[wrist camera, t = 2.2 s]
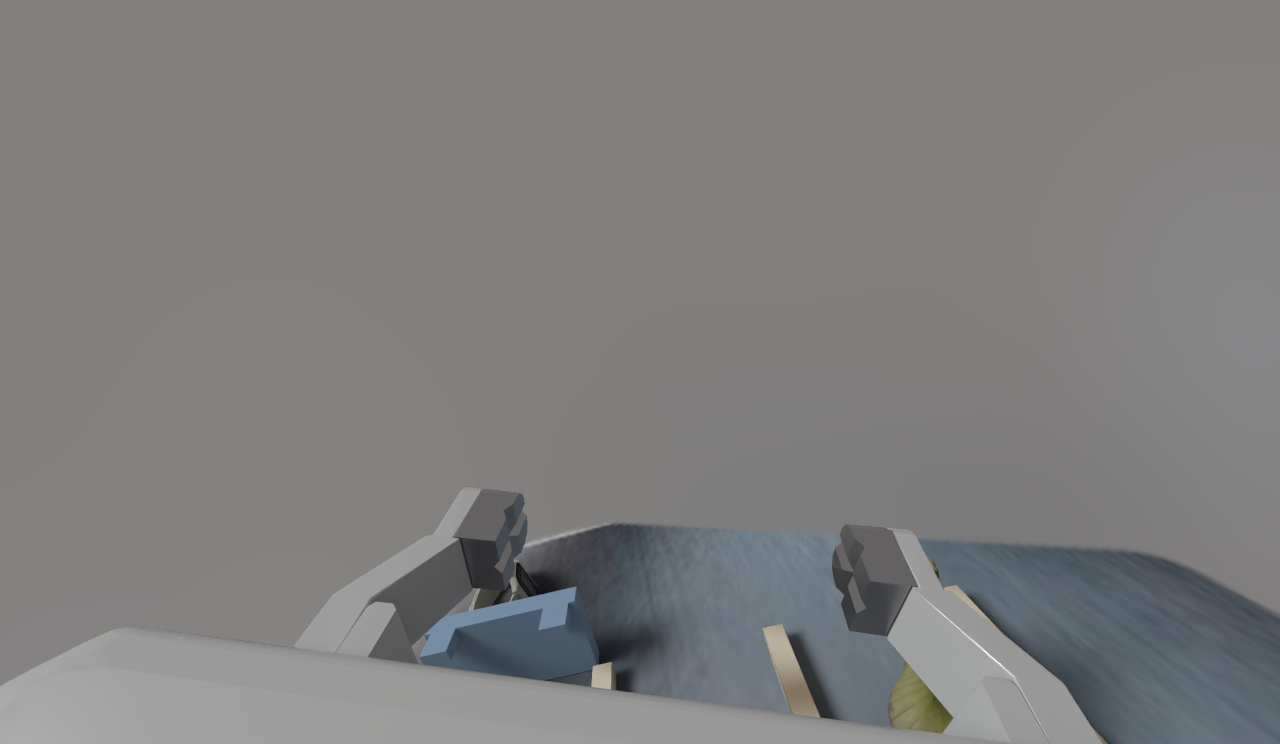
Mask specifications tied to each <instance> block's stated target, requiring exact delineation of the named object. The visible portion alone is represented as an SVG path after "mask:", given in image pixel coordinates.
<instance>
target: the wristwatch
mask: <svg viewBox="0 0 1280 744" xmlns="http://www.w3.org/2000/svg"><path fill="white" fill-rule="evenodd" d="M514 564H515V569H514V571H513V574H512V576H511V579H510V581H509V584H508V585H510V584H511V587H512V593H513V595H512V597H511V600H510V601H509V602H511V601H516V600H520V599H524V598H529V597H533V596H537V595H538V590H537V588H536V585H535V583H534V582H533V580H532V579H531V577H530V576H529V575H528V573H527V572H526V571H525V569H524V568H523V567H522V565H521V564H520V562H519V561H518V560H517V561H516V560H515V559H514ZM501 591H502V590H490V589H479V588H478V590H477V592H476V593H475V596H474V598H473V601H472V604H471V605H470V608H469V611H472V610H476V609H481V608H485V607H489V606H492V605H493V603H494V601H495V600H496V598H497V597H498V596H499V594H500V592H501Z"/></svg>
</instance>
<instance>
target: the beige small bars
mask: <svg viewBox="0 0 1280 744" xmlns="http://www.w3.org/2000/svg"><path fill="white" fill-rule="evenodd" d="M943 589H944V590H946V591H951V592H953V593H954V594H955V595H956V596H958V597H959V598H960V599H961V600H962V601H964V602H965V603H966V604H967V605H968V606H970V607H971V608H972V609H973V610H975V611H976V612H977V613H978V614H979V615H981V616H982V617H983V618H984V619H986V620H987V621H988V622H989V623H990V624H992V625H993V626H994V627H995V628H996V629H998V628H997V627H996V626H995V625H994V624H993V623H992V622H991V621H990V620H989V619H988V618H987V616H986V615H985V614H984V613H983V612H982V611H981V610H980V609H979V608H978V607H977V606H976V605H975V604H974V603H973V602H972V601H971V600H970V599H969V598H968V597H967V595H966V594H965V593H964V592H963V591H962V590H961V589H960V588H959V587H958V586H957V585H954V586H950V587H945V588H943ZM998 630H999V629H998ZM999 631H1000V630H999ZM763 632H764V637H765V642H766V645H767V648H768V651H769V653H770V656H771V659H772V662H773V665H774V668H775V670H776V673H777V676H778V679H779V682H780V685H781V687H782V690H783V693H784V696H785V699H786V702H787V704H788V707H789V710H790V713H791V714H797V715H804V716H812V717H819V718H820V715H819V713H818V710H817V708H816V706H815V703H814V701H813V698H812V696H811V693H810V691H809V689H808V686H807V684H806V681H805V679H804V676H803V674H802V672H801V669H800V667H799V664H798V662H797V659H796V657H795V655H794V652H793V650H792V647H791V645H790V642H789V640H788V638H787V635H786V633H785V630H784V628H783V625H782V624H779V625H775V626H770V627H766V628H763ZM1000 632H1001V631H1000ZM1001 633H1002V632H1001ZM592 687H595V688H602V689H610V690H616V673H615V671H614V668H613V665H612V662H609V663H605V664H600V665H596V666H593V672H592ZM1093 730H1094V729H1093ZM1094 732H1095V733H1096V735H1097V736H1098V738H1099V739H1100V741H1101V742H1102V744H1108V743H1107V742H1106V741H1105V740H1104V739H1103V738H1102V737H1101V736H1100V735H1099V734H1098V733H1097V732H1096V731H1095V730H1094Z"/></svg>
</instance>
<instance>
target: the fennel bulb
mask: <svg viewBox="0 0 1280 744" xmlns="http://www.w3.org/2000/svg"><path fill="white" fill-rule="evenodd" d="M928 560H929V559H928ZM929 562H930V564H931V566H932V568H933V570H934V572H935V574H936V576H937V577H938V579H939V574H938V569H937V568H936V566H935V563H934V562H932V561H930V560H929ZM888 712H889V718H890V722H891V725H892V727H895V728H902V729H910V730H917V731H925V732H932V733H940V734H942V733H943V732H944V730H945V729H946V727H947V726H948V725H949V723H950V722H951V721H952V719H953V717H952V715H951V714H950V713H949V712H948V711H947V709H946V708H945V707H944V706H943V705H942V703H941V702H940V701H939V700H938V699H937V697H936V696H935V695H934V694H933V693H932V692H931V690H930V689H929V688H928V687H927V686H926V684H925V683H924V682H923V681H922V680H921V678H920V677H919V676H918V675H917V674H916V672H915V671H914V670H913V669H912V668H911V666H910V665H909V664H908V663H907V662H906V661H905V664H904V668H903V670H902V673H901V675H900V677H899V678H898V680H897V681H896V683H895V685H894V686H893V689H892V691H891V694H890V700H889V707H888Z"/></svg>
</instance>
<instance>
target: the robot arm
mask: <svg viewBox="0 0 1280 744" xmlns="http://www.w3.org/2000/svg"><path fill="white" fill-rule="evenodd" d="M524 504H525V502H524V497H523V494H521V493H514V492H506V491H497V490H490V489H479V488H471V487H466V488H464V489H463V490H462V491H461V492H460V493H459V495H458V497H457V498H456V500H455V501H454V503H453V504H452V506H451V507H450V509H449V511H448V512H447V514H446V516H445V517H444V519H443V520H442V522H441V523H440V525H439V527H438V528H437V530H436V531H435V533H434V534H433V536H432V535H427V536H425V537H423V538H422V539H420V540H419V541H417V542H415V543H414V544H412V545H411V546H409V547H408V548H406V549H404V550H403V551H401V552H400V553H398V554H396V555H395V556H393V557H392V558H390V559H388V560H387V561H385V562H384V563H382V564H381V565H379V566H377V567H376V568H374V569H373V570H371V571H369V572H368V573H367V574H365V575H363V576H361V577H360V578H358V579H357V580H355V581H353V582H352V583H350V584H349V585H347V586H345V587H344V588H343V589H341V590H339V591H338V592H336V593H334V594H333V595H332V596H331V598H330V599H329V600H328V602H327V603H326V604H325V606H324V607H323V608H322V609H321V611H320V612H319V613H318V615H317V616H316V617H315V619H314V620H313V621H312V623H311V624H310V625H309V627H308V628H307V629H306V630H305V632H304V633H303V634H302V636H301V637H300V638H299V640H298V641H297V642H296V643H295V645H294V646H293V647H287V646H280V645H272V644H265V643H257V642H250V641H242V640H234V639H227V638H220V637H212V636H205V635H197V634H189V633H182V632H175V631H167V630H160V629H152V628H144V627H125V628H118V629H115V630H111V631H110V632H107V633H105V634H102V635H100V636H98V637H96V638H94V639H91V640H89V641H86V642H84V643H83V644H81V645H78V646H77V647H74V648H72V649H70V650H69V651H66V652H64V653H63V654H61V655H59V656H56V657H55V658H53V659H51V660H48V661H47V662H45V663H43V664H41V665H39V666H37V667H35V668H33V669H31V670H29V671H27V672H25V673H23V674H21V675H19V676H18V677H16V678H14V679H12V680H10V681H8V682H6V683H5V684H3V685H1V686H0V744H1102V742H1101V741H1100V739H1099V738H1098V736H1097V735H1096V733H1095V732H1094V730H1093V728H1092V727H1091V725H1090V724H1089V722H1088V721H1087V719H1086V718H1085V716H1084V714H1083V713H1082V711H1081V710H1080V708H1079V707H1078V705H1077V703H1076V702H1075V700H1074V699H1073V697H1072V696H1071V694H1070V693H1069V691H1068V689H1067V688H1066V686H1065V685H1064V684H1063V683H1062V682H1061V681H1060V680H1059V679H1057V678H1056V677H1055V676H1054V675H1053V674H1051V673H1050V672H1049V671H1048V670H1046V669H1045V668H1044V667H1043V666H1042V665H1040V664H1039V663H1038V662H1037V661H1035V660H1034V659H1033V658H1032V657H1031V656H1029V655H1028V654H1027V653H1026V652H1025V651H1023V650H1022V649H1021V648H1020V647H1018V646H1017V645H1016V644H1015V643H1014V642H1012V641H1011V640H1010V639H1009V638H1007V637H1006V636H1005V635H1004V634H1003V633H1001V632H1000V631H999V630H998V629H996V628H995V627H994V626H993V625H992V624H990V623H989V622H988V621H987V620H986V619H984V618H983V617H982V616H981V615H979V614H978V613H977V612H976V611H975V610H973V609H972V608H971V607H970V606H968V605H967V604H966V603H965V602H964V601H962V600H961V599H960V598H959V597H958V596H956V595H955V594H954V593H953V592H951V591H946V590H944V589H943V587H942V585H941V583H940V581H939V579H938V577H937V576H936V574H935V572H934V570H933V568H932V566H931V564H930V562H929V560H928V558H927V557H926V555H925V553H924V551H923V549H922V547H921V545H920V543H919V541H918V539H917V538H916V536H915V534H914V533H913V532H912V531H911V530H904V529H892V528H888V529H887V528H882V527H871V526H858V525H846V524H845V526H844V527H843V528H842V530H841V533H840V537H841V540H842V543H841V544H840V545H838V546H837V547H835V550H834V554H833V559H832V570H833V577H834V581H835V584H836V587H837V588H838V589H839V590H840V591H841V592H842V593H843V594H844V598H843V601H842V603H841V605H842V608H843V612H844V615H845V618H846V622H847V625H848V628H849V631H854V632H861V633H868V634H875V635H881V636H888V637H887V639H888V640H889V641H890V643H891V644H892V645H893V646H894V647H895V649H896V650H897V651H898V652H899V653H900V655H901V656H902V657H903V658H904V659H905V660H906V662H907V663H908V664H909V665H910V666H911V668H912V669H913V670H914V671H915V672H916V674H917V675H918V676H919V677H920V678H921V680H922V681H923V682H924V683H925V684H926V686H927V687H928V688H929V689H930V690H931V692H932V693H933V694H934V695H935V696H936V697H937V699H938V700H939V701H940V702H941V703H942V705H943V706H944V707H945V708H946V709H947V711H948V712H949V713H950V714H951V715H952V717H953V719H952V721H951V722H950V723H949V725H948V726H947V727H946V729H945V730H944V732H943V733H942V734H940V733H932V732H925V731H917V730H910V729H902V728H895V727H887V726H880V725H872V724H865V723H857V722H849V721H842V720H834V719H827V718H819V717H812V716H804V715H797V714H789V713H782V712H774V711H767V710H759V709H752V708H744V707H737V706H729V705H722V704H714V703H707V702H700V701H692V700H685V699H677V698H670V697H662V696H655V695H648V694H640V693H633V692H625V691H617V690H610V689H602V688H595V687H587V686H580V685H572V684H565V683H557V682H550V681H542V680H535V679H527V678H520V677H512V676H505V675H497V674H490V673H482V672H475V671H467V670H460V669H452V668H445V667H437V666H430V665H422V664H418V661H417V659H416V656H415V654H414V652H413V649H412V647H411V646H412V645H413V644H414V643H416V642H417V641H418V640H419V639H420V638H421V637H422V636H423V635H424V634H425V633H426V632H428V631H429V630H430V629H431V628H432V627H433V626H434V625H435V624H436V623H437V622H438V621H439V620H441V619H442V618H443V617H444V616H445V615H446V614H447V613H448V612H449V611H450V610H451V609H453V608H454V607H455V606H456V605H457V604H458V603H459V602H460V601H461V600H462V599H463V598H465V597H466V596H467V595H468V594H469V593H470V592H471V591H472V590H473V589H472V588H479V589H490V590H502V591H506V589H507V586H508V584H509V581H510V579H511V576H512V574H513V571H514V569H515V564H514V558H515V557H516V556H517V555H519V554H520V553H521V552H522V549H523V546H524V544H525V540H526V535H527V516H526V515H525V514H524V513H523V512H522V509H523V507H524Z"/></svg>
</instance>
